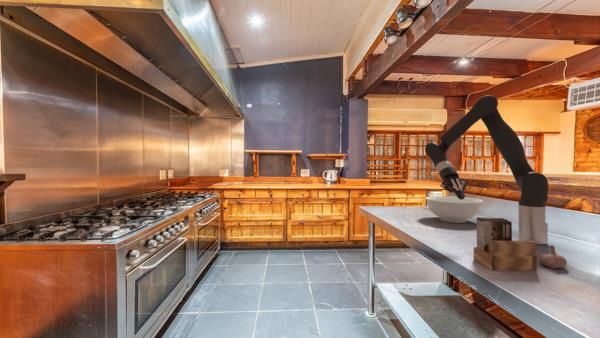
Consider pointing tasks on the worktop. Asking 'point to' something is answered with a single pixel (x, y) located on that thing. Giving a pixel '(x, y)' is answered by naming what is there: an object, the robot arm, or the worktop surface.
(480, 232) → the coffee box
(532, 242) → the holder
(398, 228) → the worktop surface
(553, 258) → the garlic bulb
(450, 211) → the bowl
